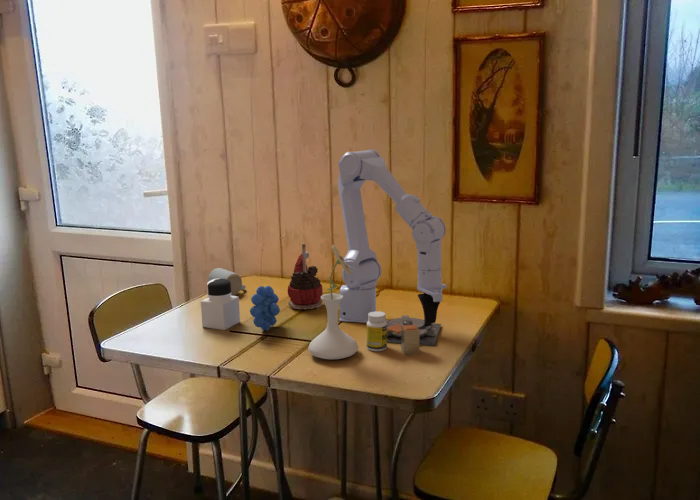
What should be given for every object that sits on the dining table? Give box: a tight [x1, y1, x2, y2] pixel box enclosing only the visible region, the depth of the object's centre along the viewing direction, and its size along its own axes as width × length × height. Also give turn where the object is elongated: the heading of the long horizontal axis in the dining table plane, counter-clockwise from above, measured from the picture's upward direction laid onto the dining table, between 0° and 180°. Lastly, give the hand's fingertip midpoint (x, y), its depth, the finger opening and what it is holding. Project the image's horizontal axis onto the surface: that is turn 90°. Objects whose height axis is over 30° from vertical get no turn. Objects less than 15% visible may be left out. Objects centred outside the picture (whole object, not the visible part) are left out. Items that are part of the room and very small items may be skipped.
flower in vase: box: [307, 244, 359, 360], centre depth 147 cm, size 13×11×25 cm
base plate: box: [387, 322, 442, 347], centre depth 161 cm, size 15×14×1 cm
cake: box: [287, 243, 324, 310], centre depth 182 cm, size 11×9×18 cm
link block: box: [400, 325, 420, 357], centre depth 149 cm, size 4×4×6 cm
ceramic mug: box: [207, 267, 247, 296], centre depth 197 cm, size 11×8×8 cm
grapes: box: [249, 285, 281, 331], centre depth 163 cm, size 12×7×12 cm, turn 155°
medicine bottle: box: [200, 279, 241, 331], centre depth 169 cm, size 7×7×12 cm
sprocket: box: [385, 314, 437, 338], centre depth 161 cm, size 14×15×4 cm
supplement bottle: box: [366, 310, 388, 352], centre depth 151 cm, size 5×5×8 cm
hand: (430, 322), depth 159 cm, fingers closed, pressing on sprocket
